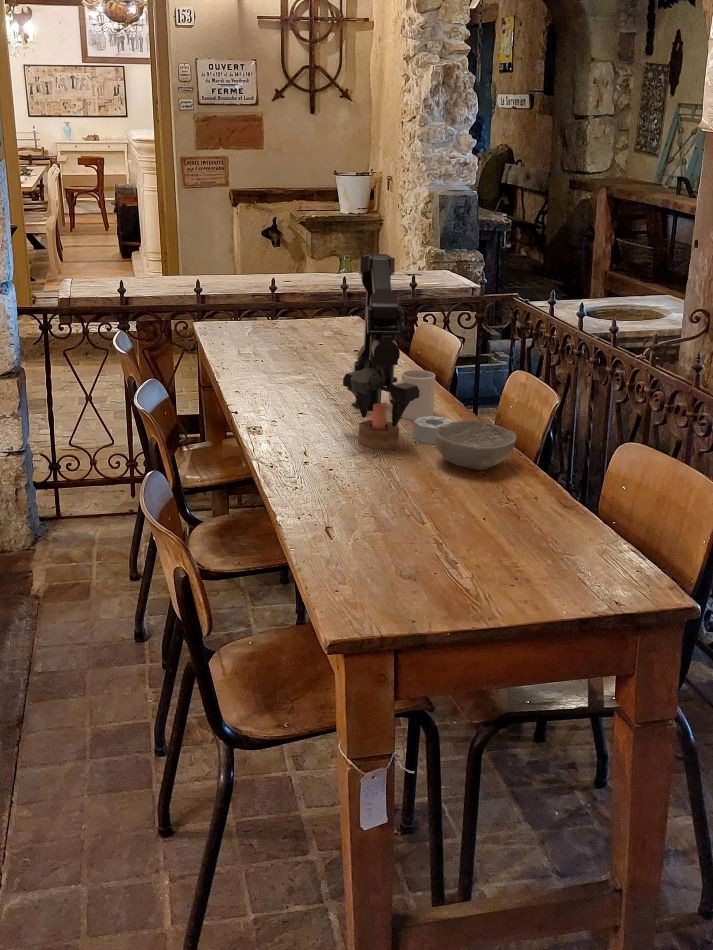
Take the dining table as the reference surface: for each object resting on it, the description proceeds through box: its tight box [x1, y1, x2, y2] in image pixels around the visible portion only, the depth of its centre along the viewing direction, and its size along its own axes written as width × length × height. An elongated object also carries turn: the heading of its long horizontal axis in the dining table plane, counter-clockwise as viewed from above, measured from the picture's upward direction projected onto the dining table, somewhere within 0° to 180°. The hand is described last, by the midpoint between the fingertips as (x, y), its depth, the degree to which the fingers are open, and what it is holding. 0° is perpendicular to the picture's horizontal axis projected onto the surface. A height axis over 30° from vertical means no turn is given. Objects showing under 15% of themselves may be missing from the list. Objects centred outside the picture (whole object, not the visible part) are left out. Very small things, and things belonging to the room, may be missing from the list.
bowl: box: [435, 419, 517, 471], centre depth 226 cm, size 18×18×8 cm
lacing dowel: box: [371, 402, 387, 429], centre depth 239 cm, size 3×3×9 cm
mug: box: [388, 369, 436, 421], centre depth 259 cm, size 12×8×11 cm
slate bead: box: [412, 415, 454, 446], centre depth 244 cm, size 9×9×4 cm
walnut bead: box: [358, 419, 400, 449], centre depth 240 cm, size 9×9×4 cm
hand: (379, 421), depth 239 cm, fingers open, 9 cm apart
